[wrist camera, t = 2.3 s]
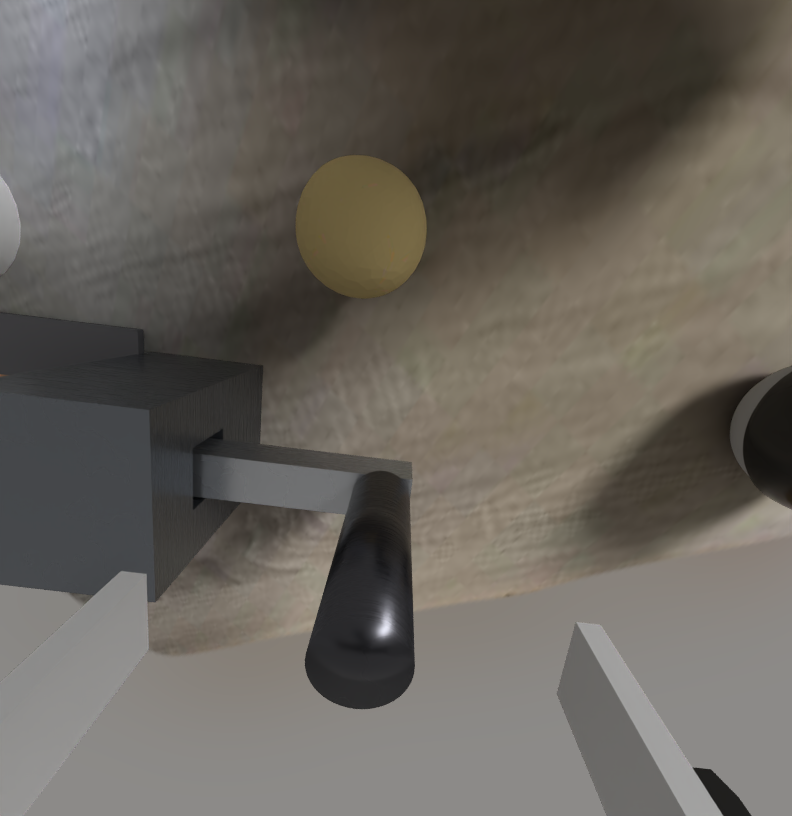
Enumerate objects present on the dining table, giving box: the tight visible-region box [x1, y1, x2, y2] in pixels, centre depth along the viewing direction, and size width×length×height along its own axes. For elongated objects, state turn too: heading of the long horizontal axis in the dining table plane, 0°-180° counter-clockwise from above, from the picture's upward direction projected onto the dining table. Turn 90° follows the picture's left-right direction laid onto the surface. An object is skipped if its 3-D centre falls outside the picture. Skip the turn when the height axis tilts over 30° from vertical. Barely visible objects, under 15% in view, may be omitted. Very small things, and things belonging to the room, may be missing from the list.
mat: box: [0, 312, 144, 375], centre depth 29 cm, size 12×12×1 cm
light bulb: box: [296, 155, 427, 299], centre depth 21 cm, size 6×6×10 cm
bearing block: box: [0, 352, 263, 602], centre depth 23 cm, size 9×8×13 cm
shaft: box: [193, 438, 415, 709], centre depth 17 cm, size 3×29×12 cm, turn 83°
